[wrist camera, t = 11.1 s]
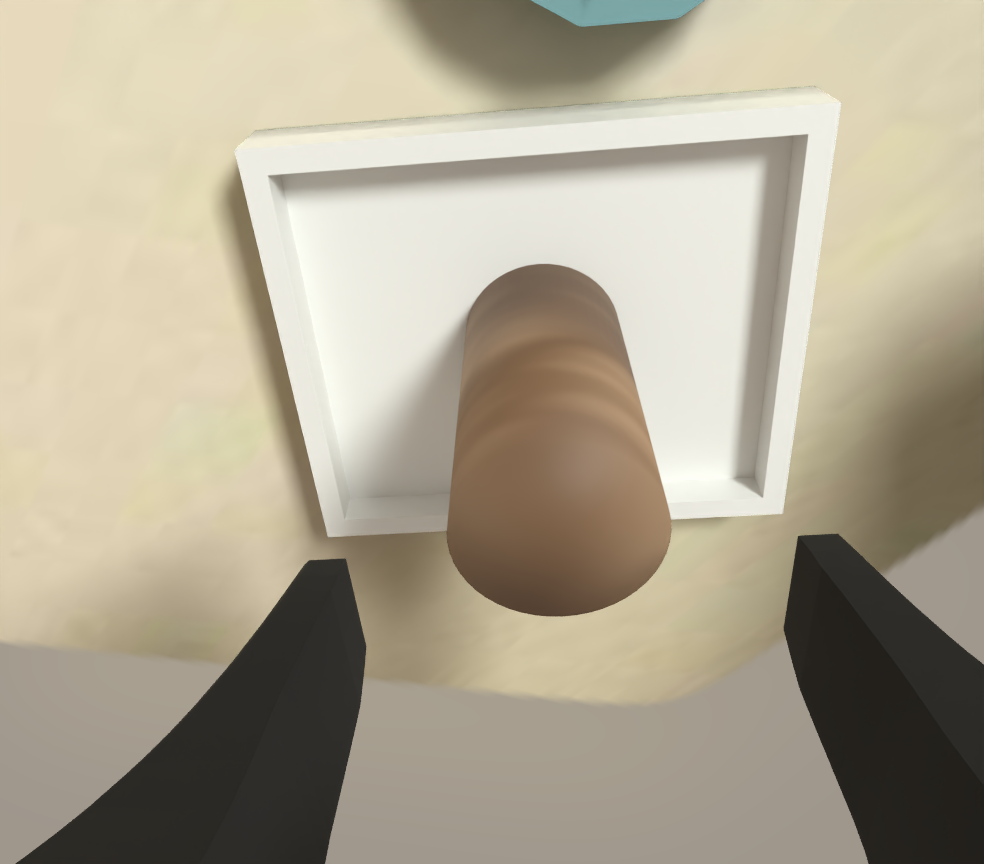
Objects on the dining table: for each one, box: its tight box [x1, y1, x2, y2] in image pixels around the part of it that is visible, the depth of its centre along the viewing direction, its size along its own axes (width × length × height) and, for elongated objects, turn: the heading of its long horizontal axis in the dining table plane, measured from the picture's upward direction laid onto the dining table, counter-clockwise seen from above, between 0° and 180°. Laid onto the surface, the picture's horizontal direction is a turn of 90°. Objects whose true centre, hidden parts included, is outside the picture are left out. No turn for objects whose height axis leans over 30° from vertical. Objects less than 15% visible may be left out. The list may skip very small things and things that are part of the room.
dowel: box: [447, 264, 671, 616], centre depth 18 cm, size 4×4×8 cm
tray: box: [234, 86, 841, 537], centre depth 21 cm, size 13×11×2 cm
